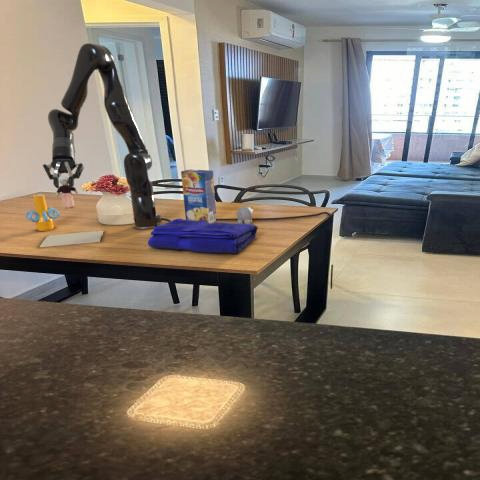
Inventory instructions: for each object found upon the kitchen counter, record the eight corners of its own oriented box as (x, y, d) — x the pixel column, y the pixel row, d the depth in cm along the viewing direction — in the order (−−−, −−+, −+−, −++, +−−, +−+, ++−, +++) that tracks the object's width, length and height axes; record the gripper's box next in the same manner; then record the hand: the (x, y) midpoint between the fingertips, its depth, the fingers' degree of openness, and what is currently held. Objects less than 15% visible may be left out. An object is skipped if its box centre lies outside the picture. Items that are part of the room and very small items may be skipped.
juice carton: (216, 220, 183) (213, 170, 175) (208, 224, 176) (204, 173, 168) (194, 218, 186) (190, 169, 178) (185, 222, 179) (180, 171, 171)
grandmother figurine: (62, 210, 148) (55, 178, 144) (57, 209, 150) (50, 177, 146) (82, 206, 154) (76, 175, 150) (77, 205, 156) (71, 174, 152)
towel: (181, 230, 168) (180, 210, 165) (259, 236, 162) (258, 216, 159) (146, 250, 143) (143, 228, 140) (236, 258, 138) (235, 235, 135)
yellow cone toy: (43, 234, 159) (36, 199, 154) (22, 232, 160) (14, 197, 156) (67, 226, 170) (61, 193, 165) (47, 224, 172) (40, 191, 167)
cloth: (103, 231, 164) (103, 230, 163) (100, 241, 152) (99, 240, 151) (48, 236, 156) (47, 235, 156) (39, 247, 144) (39, 246, 144)
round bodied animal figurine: (259, 220, 186) (259, 203, 183) (249, 227, 175) (248, 208, 172) (245, 218, 187) (245, 202, 185) (234, 225, 176) (233, 207, 173)
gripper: (39, 145, 148) (38, 182, 141) (81, 145, 153) (82, 180, 147) (45, 157, 154) (45, 193, 148) (85, 156, 160) (87, 191, 153)
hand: (63, 186), depth 147 cm, fingers closed on grandmother figurine, 4 cm apart
